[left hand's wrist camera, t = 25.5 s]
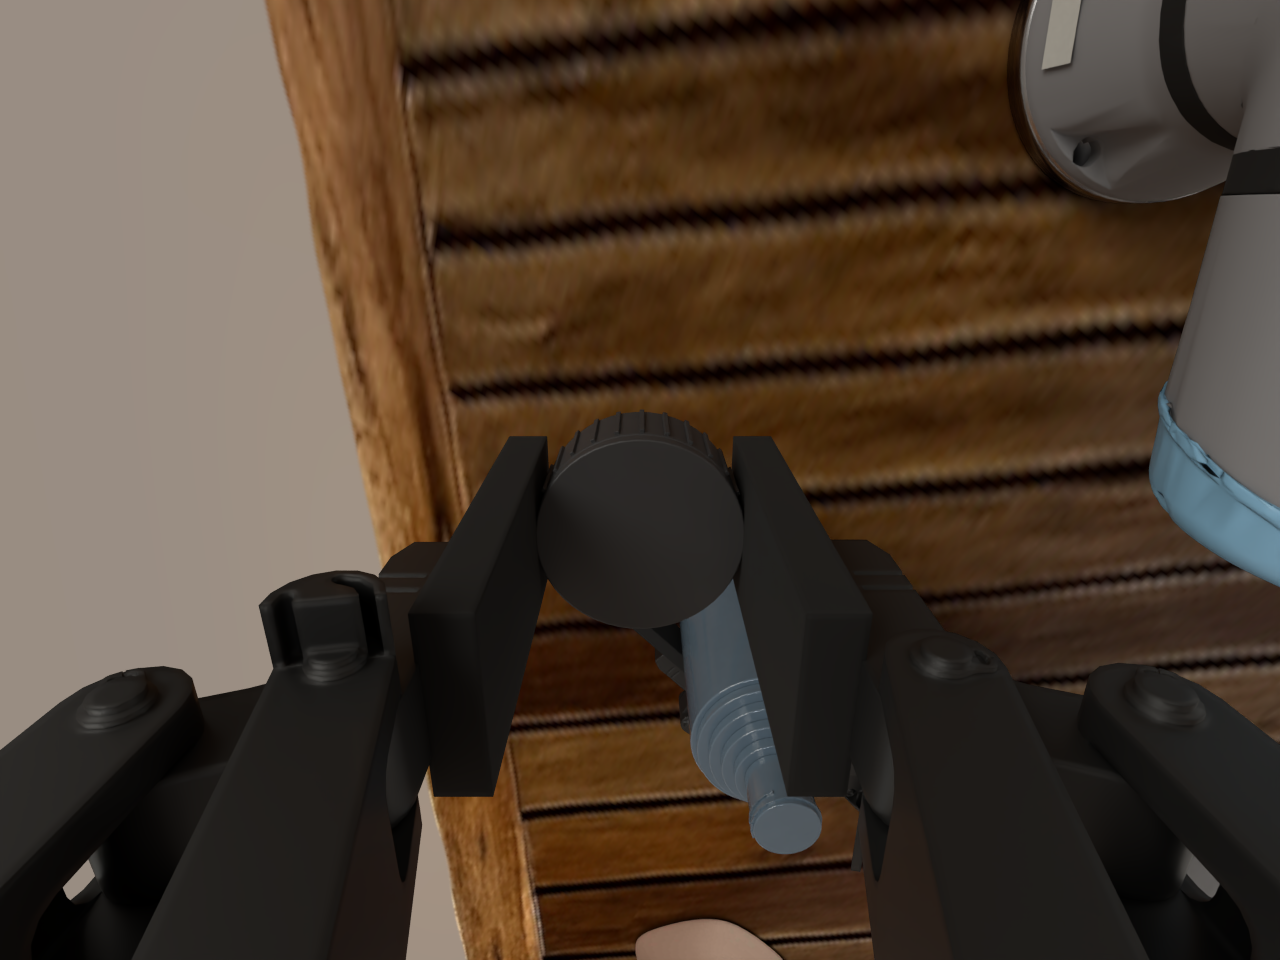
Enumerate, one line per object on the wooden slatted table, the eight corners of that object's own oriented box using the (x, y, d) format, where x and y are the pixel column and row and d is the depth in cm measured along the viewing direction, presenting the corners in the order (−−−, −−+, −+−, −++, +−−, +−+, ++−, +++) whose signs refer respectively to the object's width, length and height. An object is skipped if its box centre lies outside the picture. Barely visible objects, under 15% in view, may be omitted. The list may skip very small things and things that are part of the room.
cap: (597, 372, 13) (590, 396, 11) (772, 462, 14) (790, 497, 12) (514, 536, 14) (497, 579, 13) (678, 611, 15) (683, 661, 13)
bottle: (763, 505, 44) (861, 742, 25) (785, 593, 47) (890, 874, 27) (662, 531, 45) (678, 782, 25) (688, 616, 48) (722, 907, 28)
